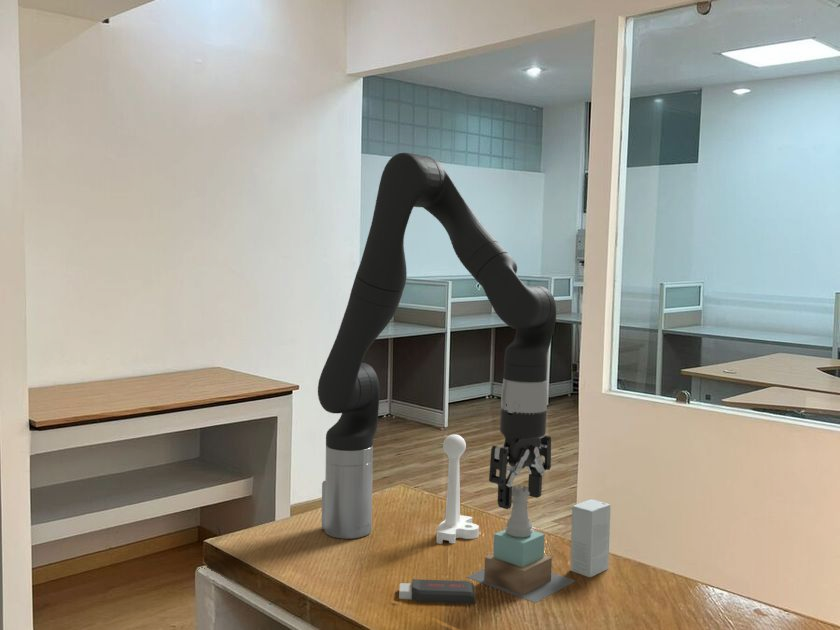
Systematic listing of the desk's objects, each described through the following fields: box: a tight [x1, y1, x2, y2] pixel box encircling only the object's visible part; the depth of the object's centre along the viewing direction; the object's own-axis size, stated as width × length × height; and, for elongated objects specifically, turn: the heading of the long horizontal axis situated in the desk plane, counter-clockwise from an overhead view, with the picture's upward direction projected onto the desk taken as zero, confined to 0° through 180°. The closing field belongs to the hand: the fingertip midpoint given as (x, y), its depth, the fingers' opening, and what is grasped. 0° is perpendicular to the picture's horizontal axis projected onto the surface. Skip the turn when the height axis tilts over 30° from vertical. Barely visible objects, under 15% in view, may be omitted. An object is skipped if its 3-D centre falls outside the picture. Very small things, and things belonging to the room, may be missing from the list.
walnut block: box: [483, 553, 553, 595], centre depth 131 cm, size 8×8×4 cm
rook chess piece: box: [505, 484, 533, 538], centre depth 130 cm, size 4×4×8 cm
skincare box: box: [570, 498, 611, 578], centre depth 136 cm, size 6×4×12 cm
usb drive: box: [398, 578, 476, 605], centre depth 124 cm, size 5×12×3 cm, turn 89°
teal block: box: [492, 528, 545, 567], centre depth 130 cm, size 6×6×4 cm
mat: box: [466, 568, 576, 604], centre depth 132 cm, size 14×12×1 cm
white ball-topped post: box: [436, 433, 480, 545], centre depth 152 cm, size 11×8×20 cm
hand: (519, 502), depth 130 cm, fingers open, 8 cm apart
